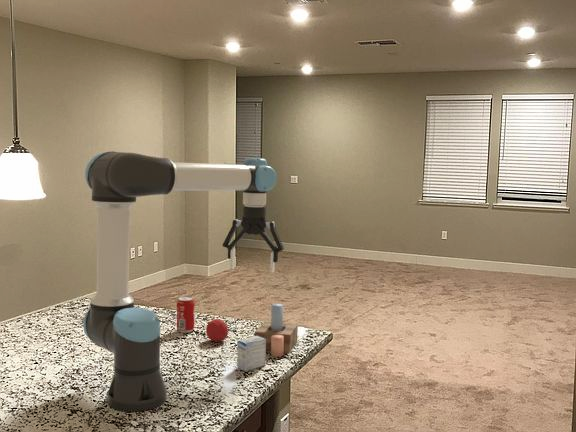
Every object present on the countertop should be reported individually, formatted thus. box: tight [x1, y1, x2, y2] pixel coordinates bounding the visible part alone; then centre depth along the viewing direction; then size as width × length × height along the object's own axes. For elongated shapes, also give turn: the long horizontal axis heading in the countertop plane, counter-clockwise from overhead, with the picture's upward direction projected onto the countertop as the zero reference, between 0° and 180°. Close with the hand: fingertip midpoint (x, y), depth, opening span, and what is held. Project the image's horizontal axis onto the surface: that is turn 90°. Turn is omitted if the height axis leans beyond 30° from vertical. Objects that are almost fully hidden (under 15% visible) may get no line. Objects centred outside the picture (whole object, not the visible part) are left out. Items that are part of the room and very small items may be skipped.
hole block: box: [254, 321, 299, 354], centre depth 211 cm, size 12×12×6 cm
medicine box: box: [236, 335, 267, 372], centre depth 190 cm, size 8×4×9 cm, turn 134°
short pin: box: [270, 335, 284, 358], centre depth 202 cm, size 4×4×6 cm
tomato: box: [205, 318, 229, 343], centre depth 215 cm, size 8×8×8 cm
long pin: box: [270, 303, 284, 331], centre depth 211 cm, size 4×4×14 cm
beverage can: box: [176, 296, 195, 334], centre depth 225 cm, size 6×6×12 cm
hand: (252, 270), depth 205 cm, fingers open, 13 cm apart
